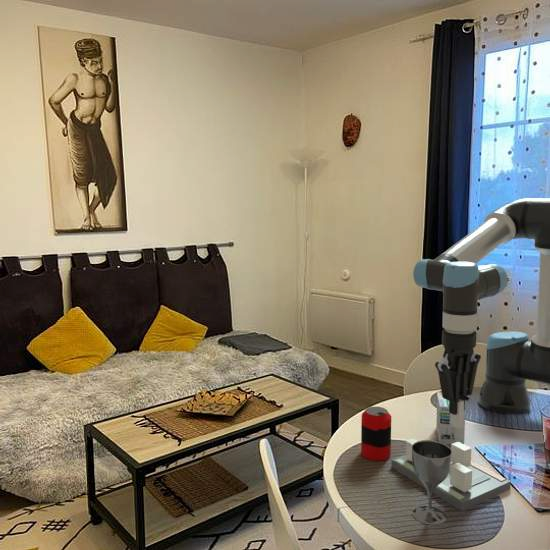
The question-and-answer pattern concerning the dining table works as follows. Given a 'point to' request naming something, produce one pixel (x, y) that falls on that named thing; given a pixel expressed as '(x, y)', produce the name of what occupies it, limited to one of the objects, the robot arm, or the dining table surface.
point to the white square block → (461, 454)
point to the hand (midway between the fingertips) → (456, 425)
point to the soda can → (376, 434)
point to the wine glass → (430, 476)
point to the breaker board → (482, 489)
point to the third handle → (461, 477)
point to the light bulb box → (447, 423)
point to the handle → (409, 448)
